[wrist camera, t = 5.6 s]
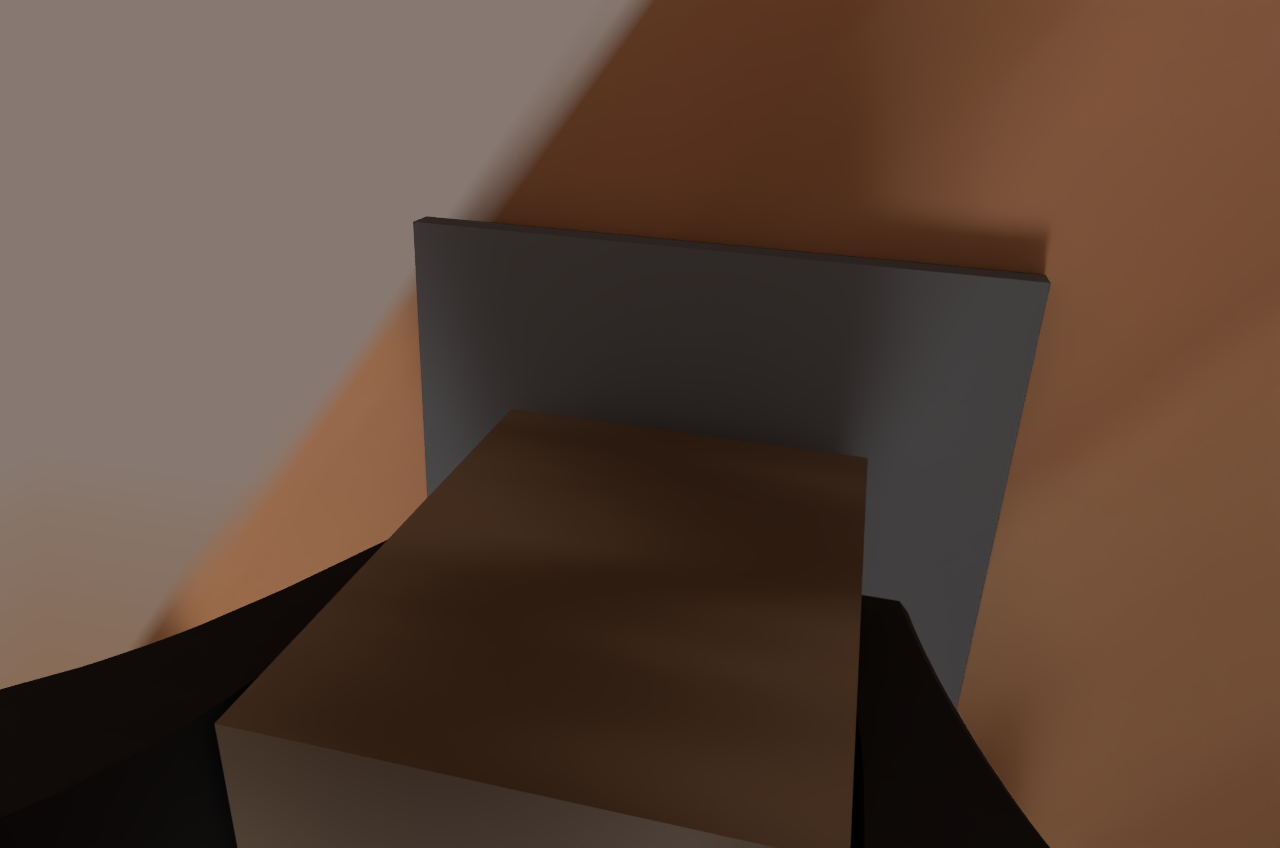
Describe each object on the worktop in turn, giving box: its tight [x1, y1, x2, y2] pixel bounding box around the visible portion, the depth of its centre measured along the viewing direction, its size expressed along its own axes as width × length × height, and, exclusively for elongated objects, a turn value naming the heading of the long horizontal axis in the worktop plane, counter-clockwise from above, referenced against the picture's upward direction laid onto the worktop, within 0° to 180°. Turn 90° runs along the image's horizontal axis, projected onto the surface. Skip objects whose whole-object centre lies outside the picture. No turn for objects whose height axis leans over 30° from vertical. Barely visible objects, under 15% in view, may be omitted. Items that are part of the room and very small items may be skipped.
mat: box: [413, 217, 1050, 710], centre depth 13 cm, size 8×8×1 cm
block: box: [214, 409, 868, 848], centre depth 10 cm, size 4×4×6 cm
